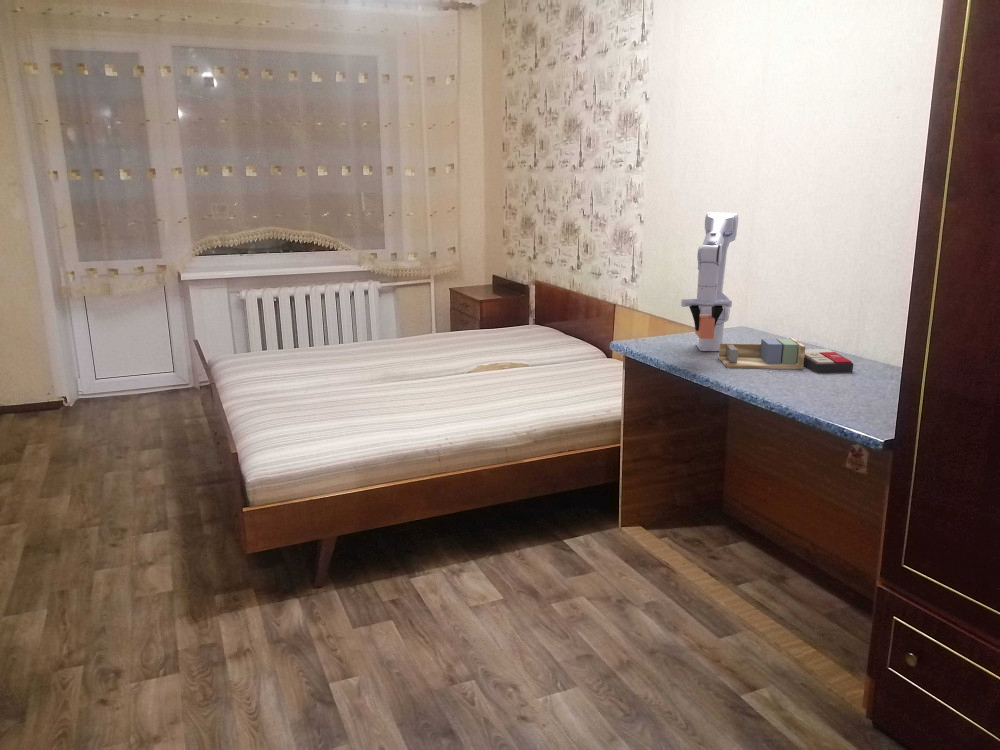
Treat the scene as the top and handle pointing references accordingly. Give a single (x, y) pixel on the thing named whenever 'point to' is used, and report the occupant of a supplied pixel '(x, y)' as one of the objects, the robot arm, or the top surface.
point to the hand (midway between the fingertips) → (704, 330)
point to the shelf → (758, 357)
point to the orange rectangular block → (706, 327)
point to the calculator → (826, 361)
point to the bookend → (731, 353)
